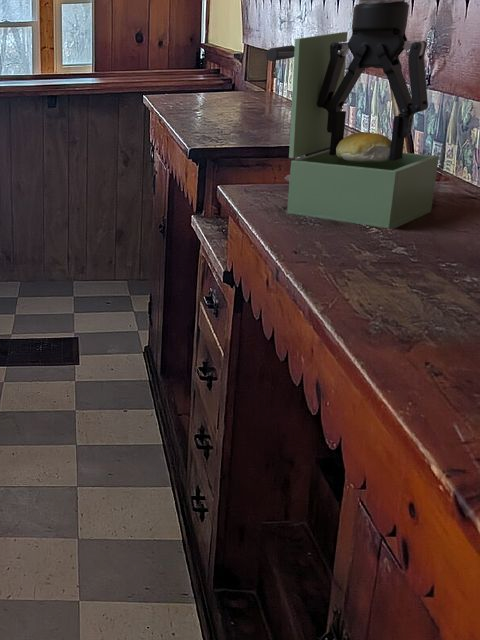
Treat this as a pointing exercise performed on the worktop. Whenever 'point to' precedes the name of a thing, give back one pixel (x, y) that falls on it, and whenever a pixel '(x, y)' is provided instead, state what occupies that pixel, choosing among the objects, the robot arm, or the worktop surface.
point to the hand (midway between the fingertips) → (365, 156)
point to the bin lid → (308, 90)
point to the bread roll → (364, 147)
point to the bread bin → (363, 189)
